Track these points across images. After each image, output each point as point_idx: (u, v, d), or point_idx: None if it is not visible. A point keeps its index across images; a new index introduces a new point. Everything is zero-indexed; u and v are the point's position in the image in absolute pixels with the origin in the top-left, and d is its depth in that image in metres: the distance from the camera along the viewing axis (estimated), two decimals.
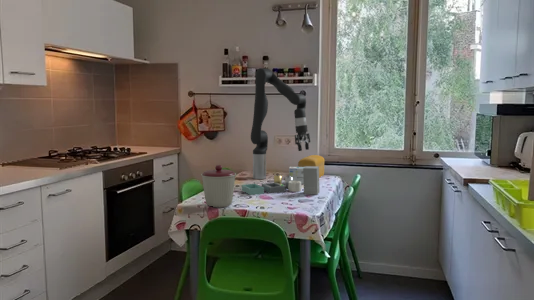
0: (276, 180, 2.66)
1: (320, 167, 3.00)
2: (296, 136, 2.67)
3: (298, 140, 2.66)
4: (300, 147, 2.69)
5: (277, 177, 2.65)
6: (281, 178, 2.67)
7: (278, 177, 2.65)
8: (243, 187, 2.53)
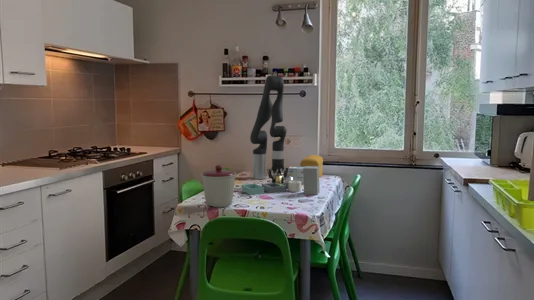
0: (276, 180, 2.66)
1: (320, 167, 3.01)
2: (268, 171, 2.64)
3: (270, 175, 2.64)
4: (273, 181, 2.66)
5: (277, 177, 2.65)
6: (281, 178, 2.67)
7: (278, 177, 2.65)
8: (243, 187, 2.53)
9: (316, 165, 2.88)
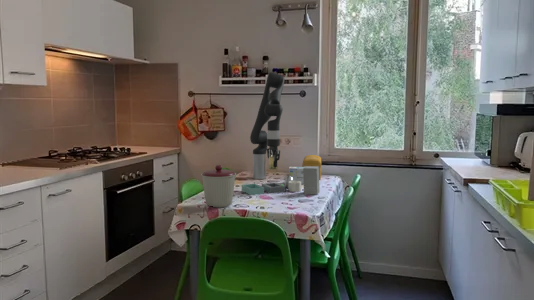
0: None
1: None
2: None
3: (267, 154, 2.58)
4: None
5: (269, 158, 2.54)
6: (272, 160, 2.51)
7: (269, 158, 2.53)
8: (243, 187, 2.53)
9: (318, 165, 2.89)
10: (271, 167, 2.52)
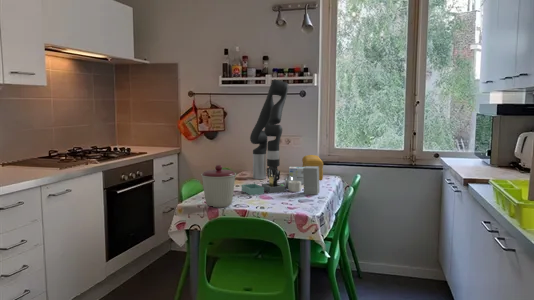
0: None
1: None
2: None
3: (267, 174, 2.60)
4: None
5: (269, 178, 2.55)
6: (272, 180, 2.53)
7: (269, 178, 2.55)
8: (243, 187, 2.53)
9: (321, 165, 2.89)
10: None
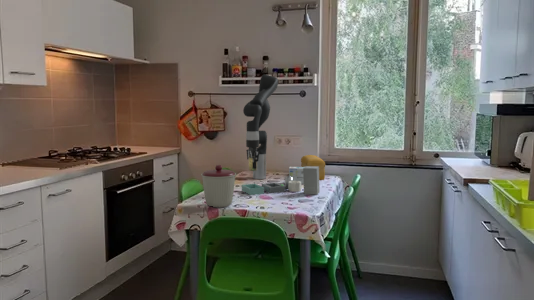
0: None
1: None
2: None
3: (247, 155, 2.54)
4: None
5: None
6: (251, 161, 2.47)
7: None
8: (243, 187, 2.53)
9: (323, 165, 2.90)
10: (250, 168, 2.48)
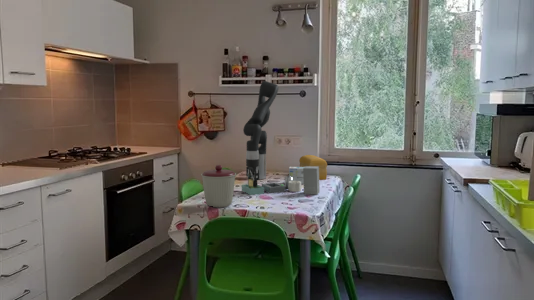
0: None
1: None
2: None
3: (246, 172, 2.56)
4: (248, 180, 2.55)
5: None
6: (251, 183, 2.48)
7: None
8: (243, 187, 2.53)
9: (325, 165, 2.91)
10: None
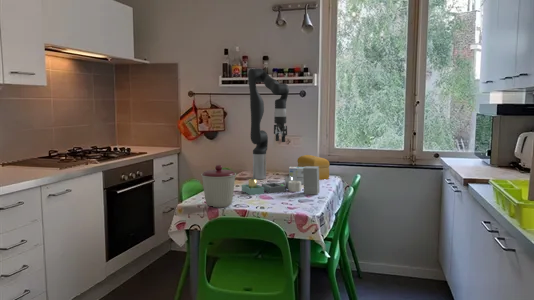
0: None
1: None
2: None
3: None
4: None
5: None
6: (251, 183, 2.49)
7: None
8: (243, 187, 2.53)
9: (328, 164, 2.92)
10: None
